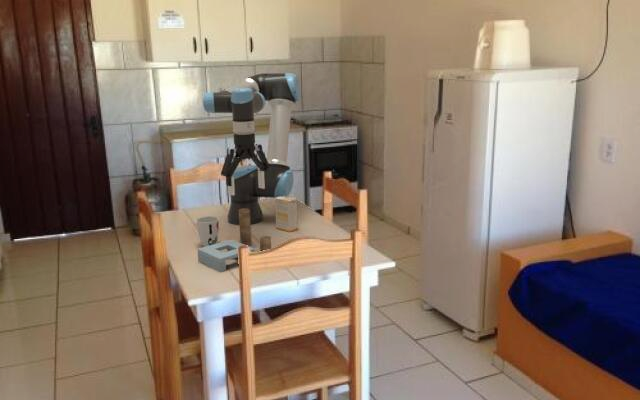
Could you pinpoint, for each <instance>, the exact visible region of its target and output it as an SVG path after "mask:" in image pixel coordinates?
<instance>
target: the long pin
mask: <svg viewBox="0 0 640 400" xmlns="http://www.w3.org/2000/svg"><path fill="white" fill-rule="evenodd" d="M238 225H239V237H240V238H239V239H240V240H239V243H242V244H244V245H248V246H249V247H252V230H251V229H252V227H251V224H250V209H247V208H243V209H239V224H238Z"/></svg>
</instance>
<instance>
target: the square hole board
mask: <svg viewBox="0 0 640 400" xmlns="http://www.w3.org/2000/svg"><path fill="white" fill-rule="evenodd" d="M240 245H244V244H242V243H240V241H237V240H234V239H228V240H223V241H221V242H217V243H216V244H213V245H210V246H206V247H203V246H202V247H199V248H197V250H196V251H197V260H198V262H199V263H202V264H203V265H206V266H208V267H210V268H212V269H214V270H216V271H218V272H220V273H222V272H224V271H227V264H226V261H229V260H233V259H236V258H239V257H238V247H239V246H240ZM248 247H249V246H248ZM249 249H250V251H251V252H255V251H256V249H255V248H254V247H252V246H251V247H249ZM223 250H226V251H225V252H223ZM255 253H256V252H255Z"/></svg>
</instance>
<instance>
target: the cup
mask: <svg viewBox="0 0 640 400" xmlns="http://www.w3.org/2000/svg"><path fill="white" fill-rule="evenodd" d="M195 221H196V227H197V234H198V237H199V241H200V243H201V246H202V247H206V246H210V245H213V244H217V243H218V239H219V231H220V229H219V228H220V227H219V226H220V225H219V217H217V216H203V217H199V218H196V220H195Z"/></svg>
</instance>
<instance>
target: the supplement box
mask: <svg viewBox="0 0 640 400" xmlns="http://www.w3.org/2000/svg"><path fill="white" fill-rule="evenodd" d="M297 201H298V200H297V198H295V197H290V196H287V197H286V196H280V197H277V198H274V203H275V204H274V205H275V225H276V227H275V228H276V229H278V230H280V231H281V230H282V231H285V232H288V233H292V232H294V231H298V228H299V227H298V206H297V203H298V202H297Z"/></svg>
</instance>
